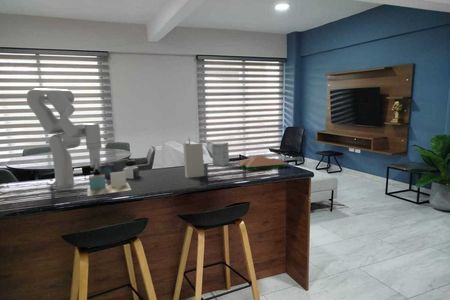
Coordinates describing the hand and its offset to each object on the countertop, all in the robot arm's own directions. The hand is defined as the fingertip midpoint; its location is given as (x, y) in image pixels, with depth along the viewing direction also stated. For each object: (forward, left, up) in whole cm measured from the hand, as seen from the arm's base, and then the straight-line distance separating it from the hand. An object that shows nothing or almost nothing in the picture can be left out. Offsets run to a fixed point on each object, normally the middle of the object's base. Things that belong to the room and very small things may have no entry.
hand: (97, 178), depth 168 cm
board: (+5, -4, -7) cm, 10 cm away
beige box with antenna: (+58, +4, -8) cm, 59 cm away
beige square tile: (+11, 0, -6) cm, 12 cm away
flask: (+6, +29, -7) cm, 30 cm away
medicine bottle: (+20, +19, -7) cm, 29 cm away
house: (+109, +6, -7) cm, 110 cm away
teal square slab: (0, 0, -5) cm, 5 cm away
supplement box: (+87, +28, -7) cm, 92 cm away
